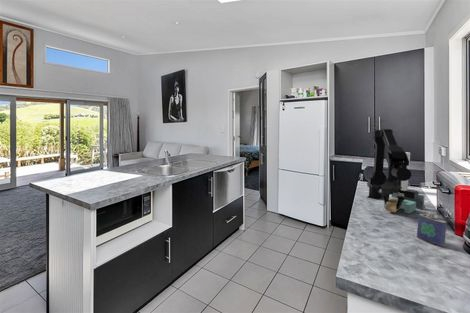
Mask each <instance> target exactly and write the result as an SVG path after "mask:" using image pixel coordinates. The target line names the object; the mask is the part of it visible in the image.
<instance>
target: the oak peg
mask: <svg viewBox="0 0 470 313" xmlns="http://www.w3.org/2000/svg"><path fill="white" fill-rule="evenodd" d="M397 201H398V199H395V198H392V199H391V200H389V201H388V202H386V208H385V211H386V212H387V211H388V212H392V213H397V212H398V211H399V210H400V208H401V207H402V204H401V206H400V207H399V209H397Z"/></svg>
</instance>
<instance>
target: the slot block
mask: <svg viewBox="0 0 470 313" xmlns="http://www.w3.org/2000/svg"><path fill="white" fill-rule="evenodd" d="M392 198H394V197H392V196H389V200H391V199H392ZM395 199H398V198H395ZM383 208H385V209H386V204H385V201H384V200H383ZM400 209H401V210H404V213H406V214H411V213H414V212H415V211H416V210H417V209H416V202H414V201H409V200H404V201H403V202H402V207H401V208H400ZM400 209H399V210H400Z"/></svg>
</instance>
